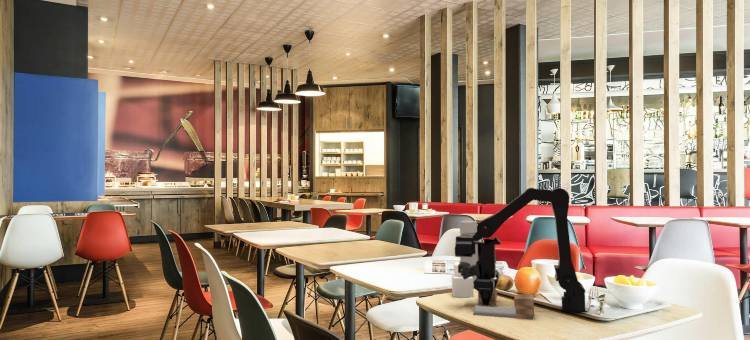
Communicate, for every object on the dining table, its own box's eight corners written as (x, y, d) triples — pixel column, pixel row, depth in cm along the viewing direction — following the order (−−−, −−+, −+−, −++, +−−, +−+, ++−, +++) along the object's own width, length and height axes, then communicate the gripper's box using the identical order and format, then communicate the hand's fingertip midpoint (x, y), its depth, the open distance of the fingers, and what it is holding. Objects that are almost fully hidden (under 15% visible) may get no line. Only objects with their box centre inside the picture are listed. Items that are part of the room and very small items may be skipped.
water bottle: (460, 284, 206) (459, 222, 206) (460, 280, 213) (459, 220, 213) (483, 285, 204) (482, 222, 204) (482, 280, 212) (481, 220, 212)
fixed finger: (533, 314, 158) (533, 294, 159) (533, 319, 153) (532, 299, 153) (515, 312, 160) (515, 293, 160) (514, 318, 155) (514, 298, 155)
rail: (533, 316, 158) (533, 306, 158) (533, 322, 153) (532, 311, 153) (475, 312, 165) (475, 302, 165) (472, 317, 159) (472, 307, 159)
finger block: (497, 306, 171) (496, 288, 171) (495, 311, 165) (494, 292, 165) (481, 305, 173) (480, 287, 173) (478, 310, 167) (478, 291, 167)
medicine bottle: (471, 292, 191) (470, 260, 191) (473, 297, 184) (472, 264, 184) (452, 292, 192) (451, 260, 192) (453, 297, 185) (452, 264, 185)
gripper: (466, 252, 181) (467, 296, 181) (457, 261, 163) (458, 310, 163) (499, 253, 177) (499, 298, 177) (492, 262, 159) (493, 312, 159)
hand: (487, 304), depth 169 cm, fingers open, 9 cm apart
